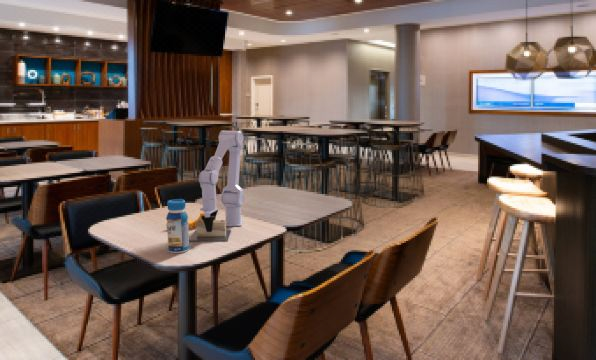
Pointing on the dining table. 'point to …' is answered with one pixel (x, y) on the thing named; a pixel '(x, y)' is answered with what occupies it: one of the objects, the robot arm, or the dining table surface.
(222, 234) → the spacer bar
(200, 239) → the bolt plate
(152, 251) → the dining table surface
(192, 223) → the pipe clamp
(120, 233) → the dining table surface
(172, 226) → the beverage bottle
